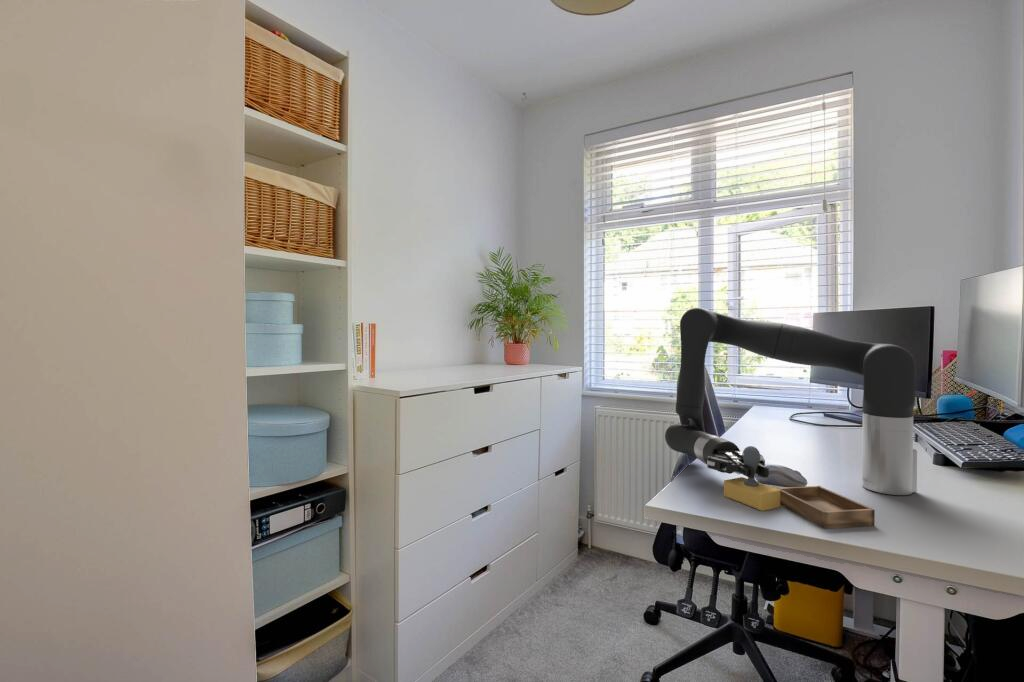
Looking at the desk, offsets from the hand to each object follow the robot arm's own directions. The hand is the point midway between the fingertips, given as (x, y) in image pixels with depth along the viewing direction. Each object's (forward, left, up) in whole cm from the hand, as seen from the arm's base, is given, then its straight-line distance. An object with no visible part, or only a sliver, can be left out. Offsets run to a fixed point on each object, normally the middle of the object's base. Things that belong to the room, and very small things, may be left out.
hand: (759, 473), depth 102 cm
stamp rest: (-10, +5, -7) cm, 13 cm away
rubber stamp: (0, -3, -7) cm, 8 cm away
